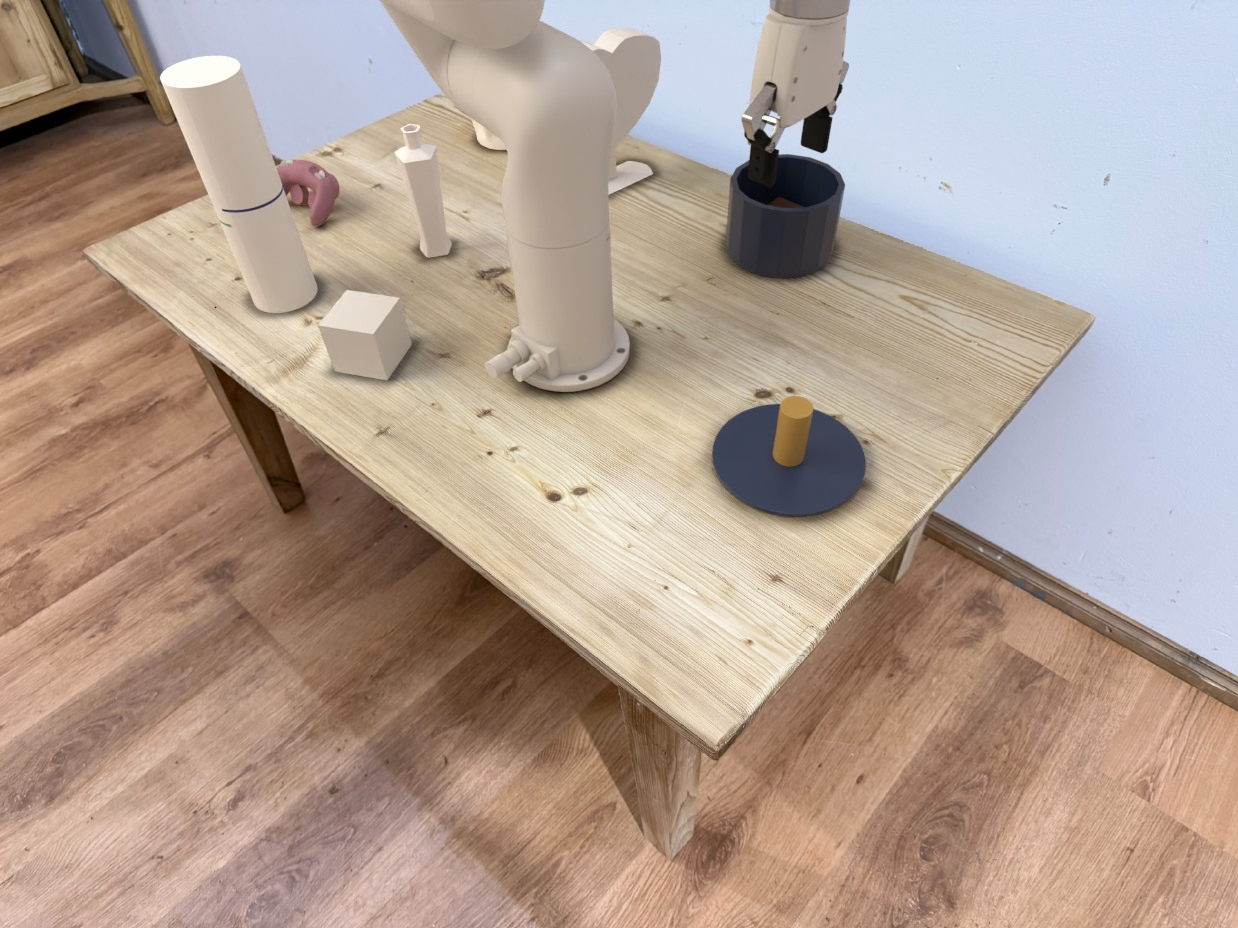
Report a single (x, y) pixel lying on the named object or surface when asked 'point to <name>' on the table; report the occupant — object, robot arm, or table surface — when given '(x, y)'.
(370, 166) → the table surface
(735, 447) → the lid
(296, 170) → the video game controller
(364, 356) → the white cube
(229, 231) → the cylindrical container
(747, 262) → the tin
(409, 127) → the perfume bottle
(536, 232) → the robot arm
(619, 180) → the heart sculpture
